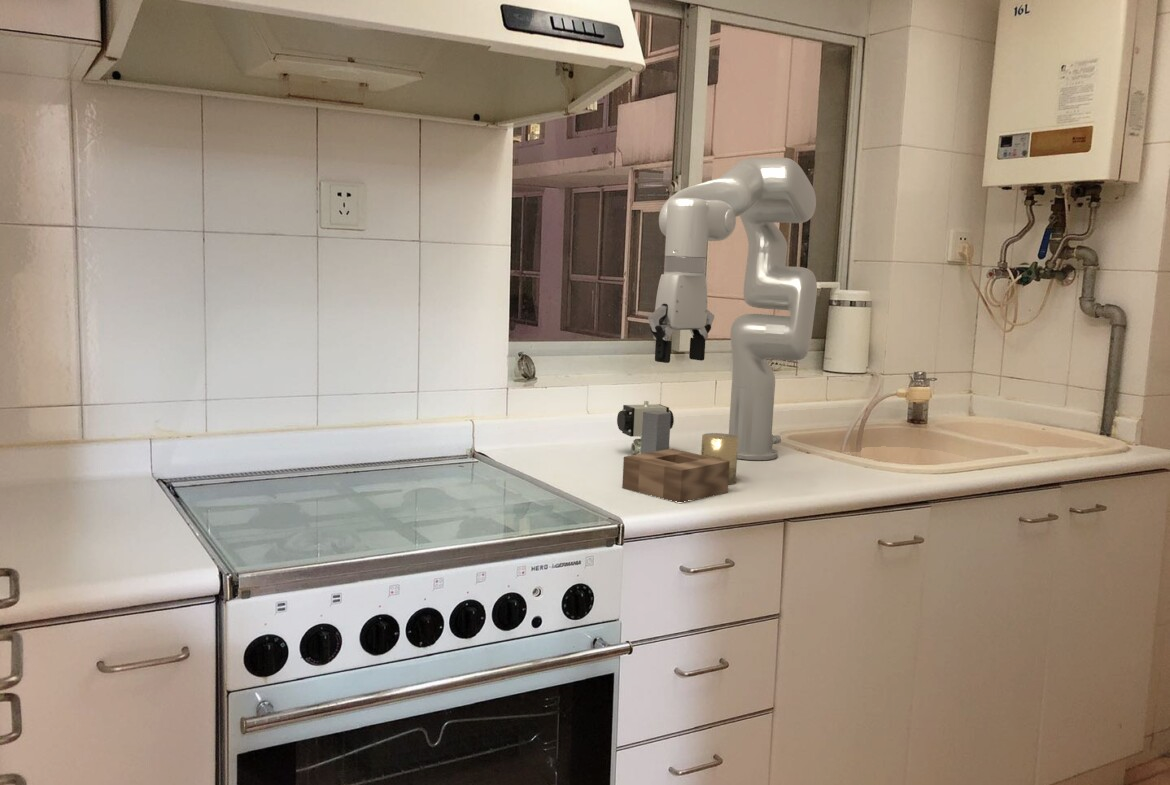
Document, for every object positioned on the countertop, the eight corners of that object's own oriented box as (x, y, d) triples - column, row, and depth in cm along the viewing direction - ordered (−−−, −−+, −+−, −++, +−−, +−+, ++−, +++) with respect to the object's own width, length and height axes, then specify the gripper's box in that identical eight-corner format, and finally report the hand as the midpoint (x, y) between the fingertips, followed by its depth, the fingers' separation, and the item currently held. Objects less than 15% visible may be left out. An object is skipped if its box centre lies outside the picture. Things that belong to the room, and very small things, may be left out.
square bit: (653, 467, 204) (656, 410, 202) (667, 470, 201) (670, 412, 199) (640, 469, 201) (643, 411, 199) (654, 473, 198) (657, 414, 196)
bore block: (670, 478, 194) (672, 448, 193) (727, 492, 184) (729, 461, 183) (622, 488, 184) (623, 456, 183) (679, 503, 174) (681, 470, 173)
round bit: (714, 475, 198) (717, 431, 197) (742, 482, 193) (745, 437, 192) (692, 480, 193) (694, 435, 192) (720, 487, 188) (723, 441, 187)
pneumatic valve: (672, 456, 216) (675, 402, 214) (623, 458, 211) (626, 403, 210) (661, 451, 221) (664, 398, 219) (613, 453, 217) (616, 399, 215)
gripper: (699, 267, 187) (694, 357, 189) (637, 265, 175) (632, 360, 177) (730, 269, 182) (725, 361, 184) (669, 267, 170) (664, 365, 172)
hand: (679, 360), depth 181 cm, fingers open, 9 cm apart
